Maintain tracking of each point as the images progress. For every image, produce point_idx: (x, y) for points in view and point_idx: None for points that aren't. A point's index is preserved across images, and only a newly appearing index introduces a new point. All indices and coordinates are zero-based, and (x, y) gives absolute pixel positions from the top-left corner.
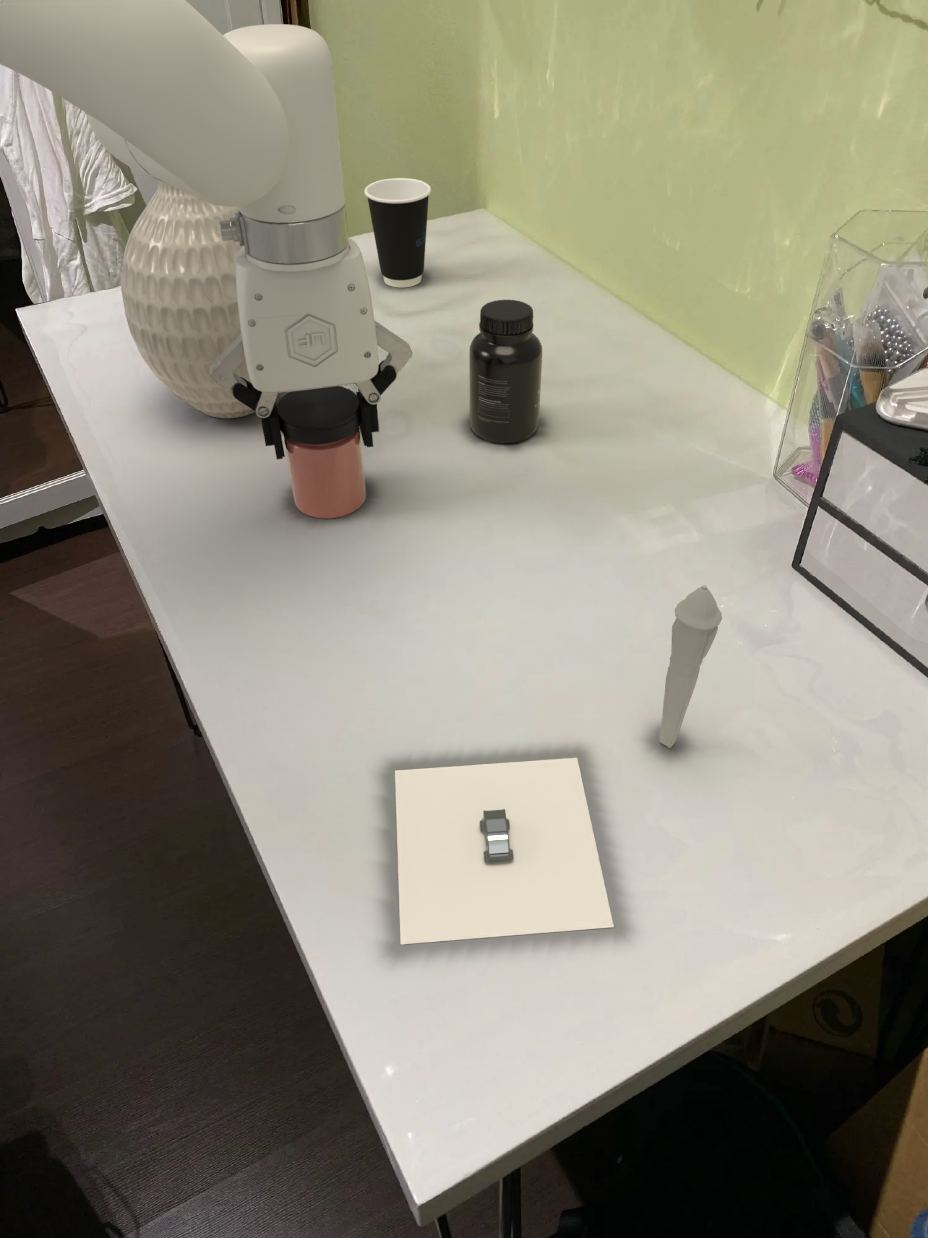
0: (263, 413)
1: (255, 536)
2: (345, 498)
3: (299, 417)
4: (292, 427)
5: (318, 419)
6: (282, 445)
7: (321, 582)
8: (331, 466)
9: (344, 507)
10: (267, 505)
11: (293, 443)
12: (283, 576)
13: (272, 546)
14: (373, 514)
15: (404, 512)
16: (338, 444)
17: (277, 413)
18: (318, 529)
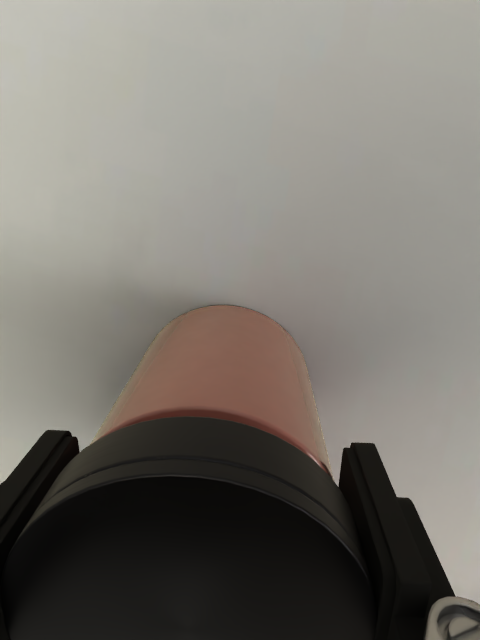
0: (466, 621)
1: (422, 286)
2: (187, 325)
3: (285, 564)
4: (328, 512)
5: (198, 529)
6: (355, 476)
7: (299, 42)
8: (198, 369)
9: (196, 316)
10: (369, 391)
11: None
12: (392, 99)
13: (392, 235)
14: (133, 295)
15: (59, 284)
16: None
17: (380, 613)
18: (270, 273)
